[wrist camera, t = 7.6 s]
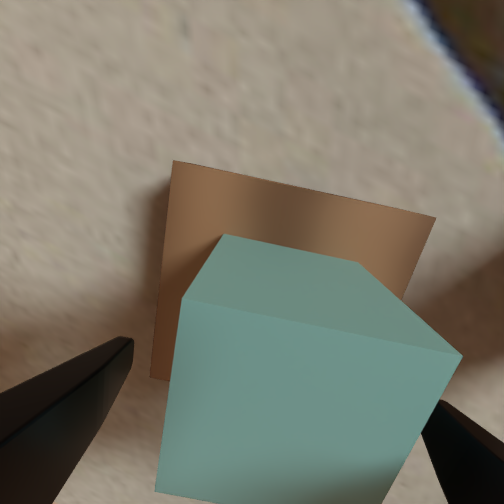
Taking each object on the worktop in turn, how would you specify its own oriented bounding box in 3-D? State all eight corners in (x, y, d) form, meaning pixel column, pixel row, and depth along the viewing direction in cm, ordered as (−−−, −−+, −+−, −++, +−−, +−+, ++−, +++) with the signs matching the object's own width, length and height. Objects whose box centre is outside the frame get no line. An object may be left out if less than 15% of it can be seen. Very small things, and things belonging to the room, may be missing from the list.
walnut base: (398, 208, 13) (436, 217, 10) (335, 374, 16) (351, 416, 14) (192, 163, 13) (173, 160, 10) (169, 341, 16) (149, 377, 13)
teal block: (358, 262, 11) (463, 356, 5) (319, 371, 13) (366, 531, 7) (224, 233, 11) (181, 298, 5) (203, 347, 13) (154, 491, 7)
